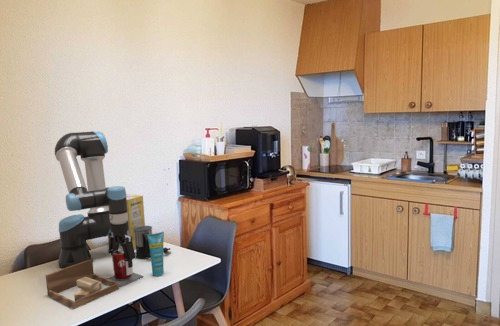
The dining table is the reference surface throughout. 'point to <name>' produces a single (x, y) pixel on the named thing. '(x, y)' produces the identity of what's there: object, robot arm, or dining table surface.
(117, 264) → the soda can
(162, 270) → the tube
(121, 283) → the plate
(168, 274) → the dining table surface
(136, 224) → the pasta box
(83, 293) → the bottom offcut
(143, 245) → the milk frother
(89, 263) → the wooden tray frame
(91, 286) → the top offcut
